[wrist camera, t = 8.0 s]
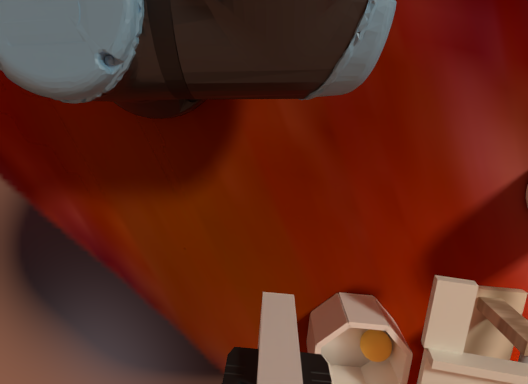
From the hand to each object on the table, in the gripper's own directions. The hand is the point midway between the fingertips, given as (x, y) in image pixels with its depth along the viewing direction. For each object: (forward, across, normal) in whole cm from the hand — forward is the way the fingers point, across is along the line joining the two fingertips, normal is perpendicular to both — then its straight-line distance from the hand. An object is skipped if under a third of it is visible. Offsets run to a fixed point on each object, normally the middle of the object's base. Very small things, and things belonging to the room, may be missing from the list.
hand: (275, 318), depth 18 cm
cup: (+29, +12, -19) cm, 37 cm away
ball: (+27, +15, -19) cm, 36 cm away
